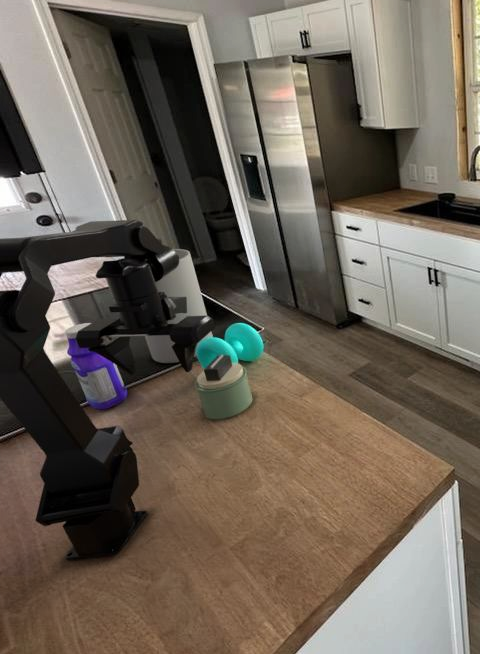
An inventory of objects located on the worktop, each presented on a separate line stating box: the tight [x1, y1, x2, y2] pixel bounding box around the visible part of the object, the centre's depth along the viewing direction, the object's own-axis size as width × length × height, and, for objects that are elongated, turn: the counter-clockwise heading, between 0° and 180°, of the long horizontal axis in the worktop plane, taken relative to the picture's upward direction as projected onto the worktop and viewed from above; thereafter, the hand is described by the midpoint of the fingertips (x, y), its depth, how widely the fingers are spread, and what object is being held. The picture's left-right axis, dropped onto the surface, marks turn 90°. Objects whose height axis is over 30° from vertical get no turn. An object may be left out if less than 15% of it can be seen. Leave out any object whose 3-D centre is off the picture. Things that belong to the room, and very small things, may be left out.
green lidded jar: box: [194, 362, 254, 420], centre depth 84 cm, size 9×9×8 cm
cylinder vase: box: [144, 248, 214, 364], centre depth 99 cm, size 12×12×25 cm
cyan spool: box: [196, 322, 264, 370], centre depth 96 cm, size 10×10×10 cm
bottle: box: [64, 322, 128, 410], centre depth 82 cm, size 7×6×17 cm
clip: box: [203, 355, 232, 381], centre depth 82 cm, size 5×2×3 cm, turn 8°
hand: (161, 372), depth 75 cm, fingers open, 9 cm apart
